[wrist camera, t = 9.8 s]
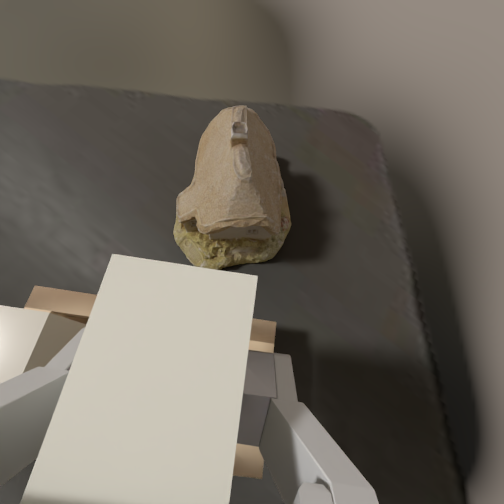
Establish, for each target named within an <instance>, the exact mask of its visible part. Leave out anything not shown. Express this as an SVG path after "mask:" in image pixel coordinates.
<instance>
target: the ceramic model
mask: <svg viewBox="0 0 504 504" xmlns="http://www.w3.org/2000/svg"><path fill="white" fill-rule="evenodd" d="M285 191H286V190H285V189H284V184H283V180H282V178H281V174H280V169H279V165H278V162H277V160H276V149H275V145H274V142H273V139H272V137H271V135H270V132H269V130H268V129H267V127H266V126H265V125H264V123H263V122H262V121H261V119H260V118H259V117H258V115H257V113H255V112H254V111H253V110H252V109H249V108H247V107H246V106H233V107H229V108H226V109H224V110H222V111H221V112H220V113H219V114H218V115H217V116H216V117H215V118H214V119H213V120H212V121H211V122H210V124H209V126H208V127H207V129H206V130H205V132H204V133H203V135H202V137H201V140H200V143H199V148H198V152H197V157H196V161H195V174H194V178H193V180H192V183H191V185H190V186H189V187H187V188H186V189H185V190H184V191H183V192H181V193H180V194H179V195H178V197H177V206H176V208H177V210H176V212H177V213H176V223H175V226H174V231H173V234H174V238H175V240H176V243H177V245H179V247H180V248H181V250H182V251H183V252H184V253H185V254H186V257H187V258H188V259H189V260H190V262H191V263H192V264H193V265H194V266H195V267H202V268H208V269H215V270H220V269H222V268H225V267H229V266H233V265H238V264H246V263H258V262H265V261H267V260H269V259H272V258H273V257H274V256H275V255H276V254H277V252H278V251H279V249H280V248H281V247H282V245H283V243H284V240H285V238H286V236H287V234H288V232H289V230H290V227H291V221H290V213H289V208H288V202H287V195H286V192H285Z"/></svg>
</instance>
